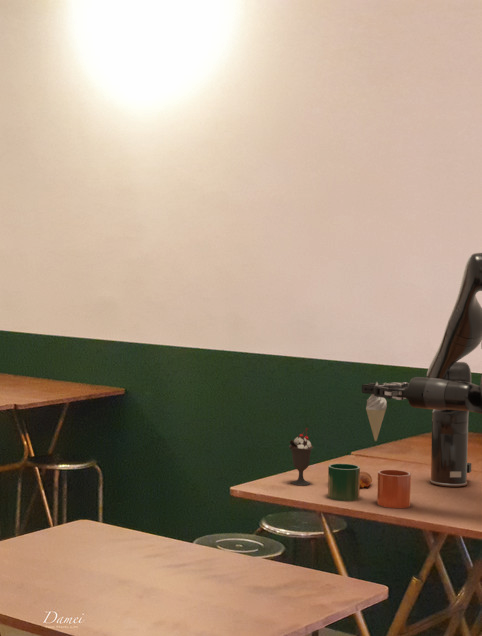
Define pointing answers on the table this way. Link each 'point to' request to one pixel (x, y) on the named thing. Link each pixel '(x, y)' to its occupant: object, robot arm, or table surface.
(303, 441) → the sundae
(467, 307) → the robot arm
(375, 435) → the ice cream cone
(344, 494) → the stand
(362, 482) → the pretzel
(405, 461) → the table surface
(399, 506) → the cup
